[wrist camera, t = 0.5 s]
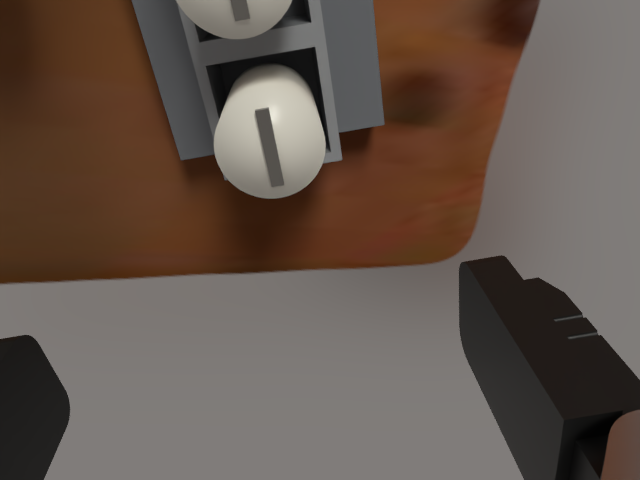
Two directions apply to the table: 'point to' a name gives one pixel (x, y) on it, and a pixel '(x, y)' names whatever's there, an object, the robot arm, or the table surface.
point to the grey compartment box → (269, 47)
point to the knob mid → (235, 16)
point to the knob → (270, 133)
